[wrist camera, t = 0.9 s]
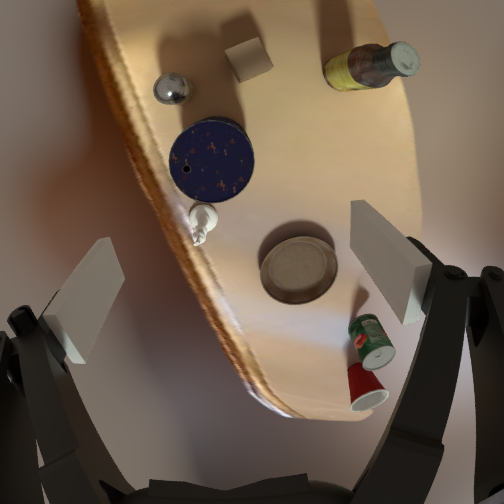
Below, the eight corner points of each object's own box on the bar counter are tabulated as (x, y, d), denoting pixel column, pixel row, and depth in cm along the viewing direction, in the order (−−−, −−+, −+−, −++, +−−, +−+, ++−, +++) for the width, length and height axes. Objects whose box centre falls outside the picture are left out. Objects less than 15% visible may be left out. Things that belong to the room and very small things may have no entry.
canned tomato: (381, 327, 66) (398, 359, 57) (353, 342, 68) (367, 375, 58) (373, 307, 63) (392, 340, 53) (343, 324, 64) (358, 358, 55)
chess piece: (183, 218, 50) (173, 244, 41) (202, 198, 49) (195, 220, 40) (205, 236, 52) (200, 264, 43) (223, 216, 50) (222, 242, 42)
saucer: (255, 236, 53) (256, 242, 50) (334, 226, 53) (339, 232, 51) (263, 301, 60) (264, 310, 57) (333, 291, 60) (336, 298, 57)
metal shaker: (162, 80, 39) (148, 75, 31) (191, 75, 39) (182, 68, 31) (166, 107, 41) (152, 107, 33) (194, 102, 41) (186, 100, 33)
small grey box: (225, 57, 38) (224, 50, 33) (254, 45, 37) (258, 36, 32) (239, 83, 40) (240, 80, 35) (268, 71, 39) (273, 66, 34)
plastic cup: (339, 385, 76) (350, 418, 66) (337, 364, 71) (349, 399, 61) (374, 373, 75) (388, 405, 65) (375, 351, 70) (391, 385, 60)
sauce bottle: (337, 98, 42) (400, 99, 24) (314, 69, 39) (366, 50, 22) (365, 78, 40) (436, 72, 23) (342, 49, 38) (405, 25, 20)
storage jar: (241, 109, 42) (246, 110, 29) (254, 167, 47) (263, 193, 34) (180, 124, 43) (157, 133, 29) (195, 181, 47) (180, 212, 34)
